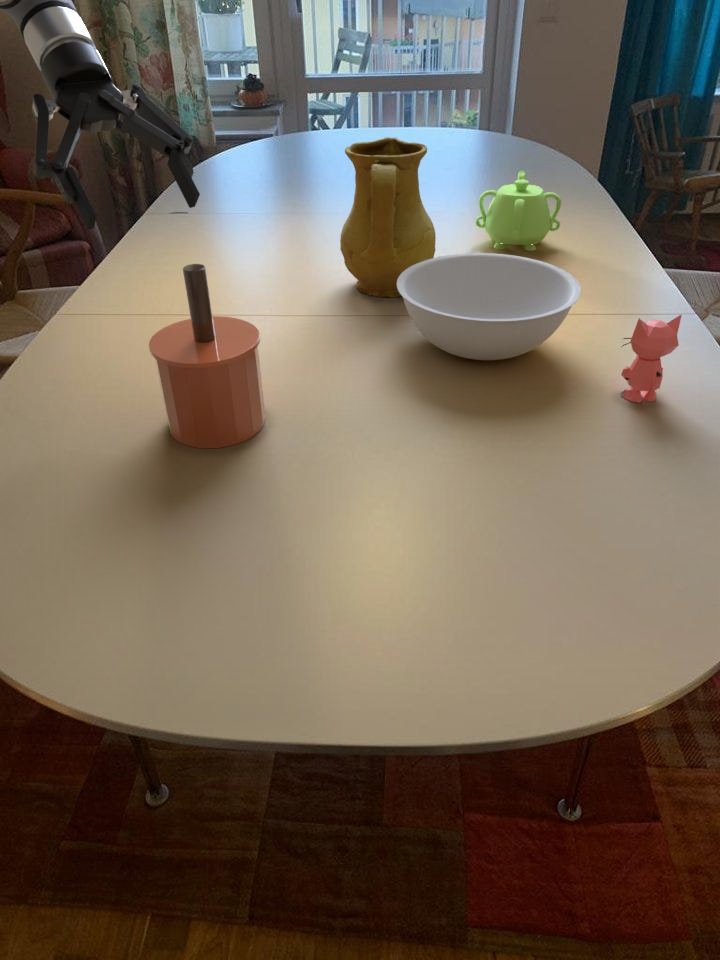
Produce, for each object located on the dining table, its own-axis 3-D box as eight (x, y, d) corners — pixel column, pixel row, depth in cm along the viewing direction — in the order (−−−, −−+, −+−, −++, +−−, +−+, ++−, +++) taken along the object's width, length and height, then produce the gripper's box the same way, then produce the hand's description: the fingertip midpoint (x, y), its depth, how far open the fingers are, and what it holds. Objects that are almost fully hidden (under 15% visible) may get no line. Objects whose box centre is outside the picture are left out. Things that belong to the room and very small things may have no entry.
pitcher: (453, 277, 138) (454, 134, 123) (399, 315, 127) (392, 163, 112) (379, 262, 147) (371, 127, 132) (321, 297, 136) (305, 154, 120)
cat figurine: (653, 383, 105) (672, 303, 98) (677, 407, 99) (700, 324, 92) (606, 388, 104) (622, 307, 97) (628, 412, 99) (647, 329, 92)
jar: (159, 448, 93) (142, 366, 86) (180, 399, 103) (166, 322, 97) (258, 448, 93) (248, 365, 86) (269, 398, 103) (262, 321, 96)
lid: (138, 373, 86) (119, 289, 80) (164, 325, 97) (150, 248, 91) (253, 372, 86) (243, 288, 80) (266, 324, 97) (259, 247, 91)
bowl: (565, 396, 102) (577, 330, 96) (376, 374, 108) (376, 310, 103) (574, 318, 123) (584, 260, 118) (415, 304, 130) (417, 247, 124)
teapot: (463, 237, 159) (467, 176, 152) (516, 227, 164) (522, 167, 157) (509, 259, 147) (515, 194, 140) (564, 247, 152) (573, 183, 145)
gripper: (155, 74, 100) (225, 209, 100) (-36, 94, 88) (42, 250, 87) (166, 30, 94) (241, 175, 93) (-38, 46, 81) (46, 213, 81)
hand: (145, 211), depth 90 cm, fingers open, 13 cm apart
